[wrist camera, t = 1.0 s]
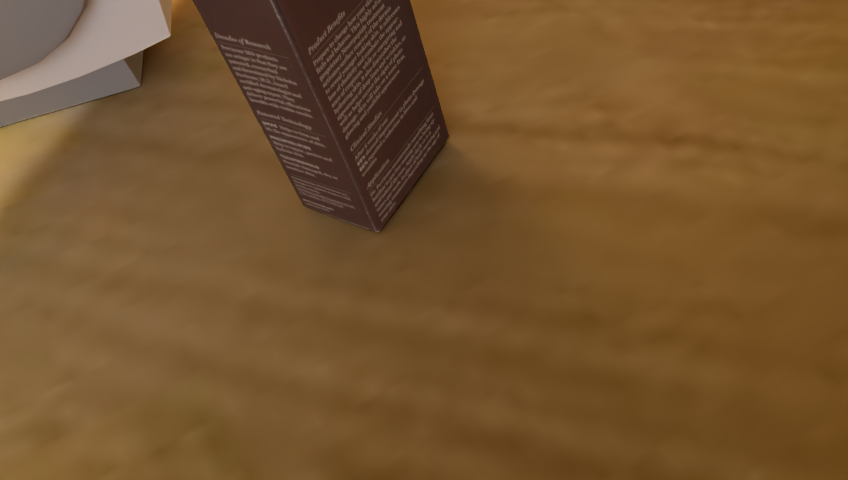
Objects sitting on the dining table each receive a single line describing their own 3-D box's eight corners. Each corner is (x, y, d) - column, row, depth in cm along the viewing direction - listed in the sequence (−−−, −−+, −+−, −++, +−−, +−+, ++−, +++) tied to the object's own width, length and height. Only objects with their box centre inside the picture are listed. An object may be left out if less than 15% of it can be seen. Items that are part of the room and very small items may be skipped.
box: (369, 115, 36) (280, -141, 27) (452, 139, 34) (387, -130, 25) (292, 209, 34) (164, -40, 24) (377, 241, 32) (273, -18, 22)
